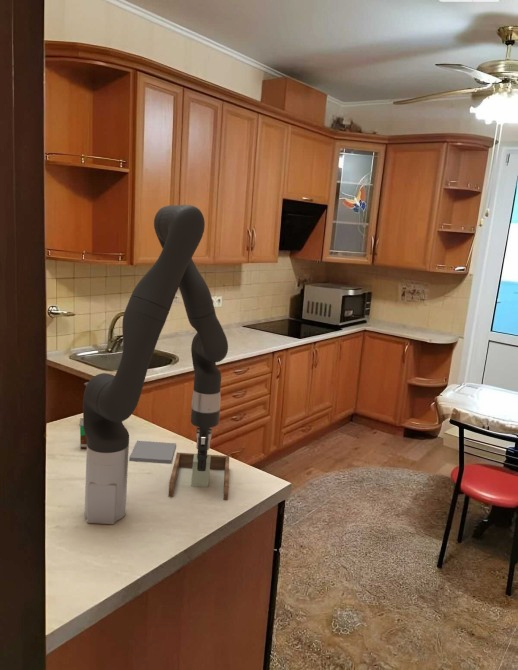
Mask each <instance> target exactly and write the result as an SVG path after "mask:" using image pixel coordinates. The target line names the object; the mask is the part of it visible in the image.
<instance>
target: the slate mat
mask: <svg viewBox="0 0 518 670" xmlns="http://www.w3.org/2000/svg"><path fill="white" fill-rule="evenodd" d="M176 446H177V443H176V442H175V443H174V442H164V441H163V442H161V441H147V440H136V442H135V445H134V447H133V449H132V451H131V453H130V456H128V462H129V461H130V462H132V461H133V462H143V463H144V462H145V463H159V464H172V463H173V459H174V454H175V451H176Z"/></svg>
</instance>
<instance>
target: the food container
mask: <svg viewBox="0 0 518 670" xmlns="http://www.w3.org/2000/svg"><path fill="white" fill-rule="evenodd" d="M79 430H80V433H79V434H80V437H79V438H80V439H79V440H80V441H79V442H80V450H87V438H86V435H85V433H84V426H83V417H82V418H81V417H80V419H79Z"/></svg>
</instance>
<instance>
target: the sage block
mask: <svg viewBox="0 0 518 670" xmlns="http://www.w3.org/2000/svg"><path fill="white" fill-rule="evenodd" d="M193 454H194V459H193V468H191V471H192V473H191V484H190V485H191V487H203V488H205V487H206V488H209V481H210V470H211V469H210V459H211V455H212V454H207V455H208V457H207V459H206V470H205V471H198V470H197V465H198V459H197V454H198V453H193Z"/></svg>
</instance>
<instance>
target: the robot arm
mask: <svg viewBox="0 0 518 670" xmlns="http://www.w3.org/2000/svg"><path fill="white" fill-rule="evenodd" d="M205 221H206V220H205V217H204V214H203V212H202V211H201V210H200V209H199V208H198V207H196V206H194V205H190V204H189V205H188V204H182V205H181V204H177V205H175V204H174V205H173V204H172V205H166V206H163V207H161V208H160V209H159V210H157V212H156V213H155V216H154V219H153V227H154V231H155V235H156V237H157V240H158V242H159V244H160V246H161V248H162V249H161V253H160V254H159V256H158V258H157V259H156V261H155V263H154V264H153V265H152V266H151V267H150V269H149V270H148V271H147V272H146V273H145V274H144V275H143V276H142V277H141V279H140V280H139V281H138V283H137V284H136V285H135V286H134V288H133V290H132V293H131V294H130V297H129V300H128V303H126V307H125V310H124V313H123V316H122V323H121V324H122V325H121V326H122V328H121V329H122V332H121V333H122V355H121V359H120V362H119V365H118V367H117V369H116V370H117V371H116V373H115V374H114V375H113V374H111V373H108V372H103V373H98V374H96V375H94V376H93V377H92V378H90V379H89V381H87V382H88V384H87V386H85V389H84V392H83V397H82V398H83V399H82V413H83V414H82V416H83V417H82V418H83V426H84V433H85V435H86V438H87V449H86V459H85V487H84V488H85V491H84V493H85V495H84V517H85V518H86V523H88V524H99V525H100V524H103V525H115V524H116V522H118V521H120V520H121V519H123V518H124V516H125V515H126V512H127V511H126V510H127V509H126V508H127V488H128V471H129V470H128V468H129V452H130V451H129V449H130V434H129V431H128V429H127V428H126V426H125V425H124V423H123V422H124V421H126V420H128V418H130V417H131V416H132V415H133V413H134V412H135V410H136V408H137V406H138V404H139V401H140V398H141V394H142V390H143V387H144V383H145V379H146V376H147V373H148V369H149V366H150V363H151V360H152V357H153V355H154V351H155V349H156V346H157V343H158V341H159V337H160V335H161V333H162V330H163V328H164V326H165V324H166V321H167V319H168V316H169V313H170V311H171V308H172V305H173V301H174V299H175V297H176V294H177V291H178V290H179V292H180V295H181V298H182V301H183V305H184V309H185V313H186V316H187V320H188V322H189V325H190V326H191V327H192V328H194V330H195V331H196V334H194V335H193V338H192V340H191V345H190V346H191V347H190V352H191V360H192V361H191V362H192V367H193V373H194V377H193V392H192V397H191V406H190V407H191V408H190V409H191V411H190V413H191V414H190V423H191V424H192V426H195V427H197V428H196V434H195V435H196V447H195V448H196V449H197V453H196V454H197V459H198V465H197V470H198V471H205V470H206V459H207V457H208V455H209V454H208V451H209V450H210V448H211V447H210V445H211V439H212V435H213V434H212V431H213V428H215V427H217V426H218V425H219V423H220V416H221V415H220V414H221V401H222V399H221V398H222V397H221V387H222V385H221V384H222V373H221V371H220V369H219V367H218V366H217V364H216V363H219V362H221V361H223V360H224V359H225V358H226V356H227V355H228V351H229V342H228V339H227V336H226V333H225V331H224V329H223V326H222V325H221V322H220V321H219V319H218V317H217V315H216V309H215V305H214V301H213V297H212V293H211V291H210V289H209V286H208V284H207V283H206V281H205V279H204V278H203V275H202V274H201V273H200V271H199V270H198V268H197V266H196V264H195V261H194V260H193V256H194V254H195V253H196V250H197V248H198V247H199V245H200V243H201V241H202V238H203V236H204V232H205V225H206V222H205Z"/></svg>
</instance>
